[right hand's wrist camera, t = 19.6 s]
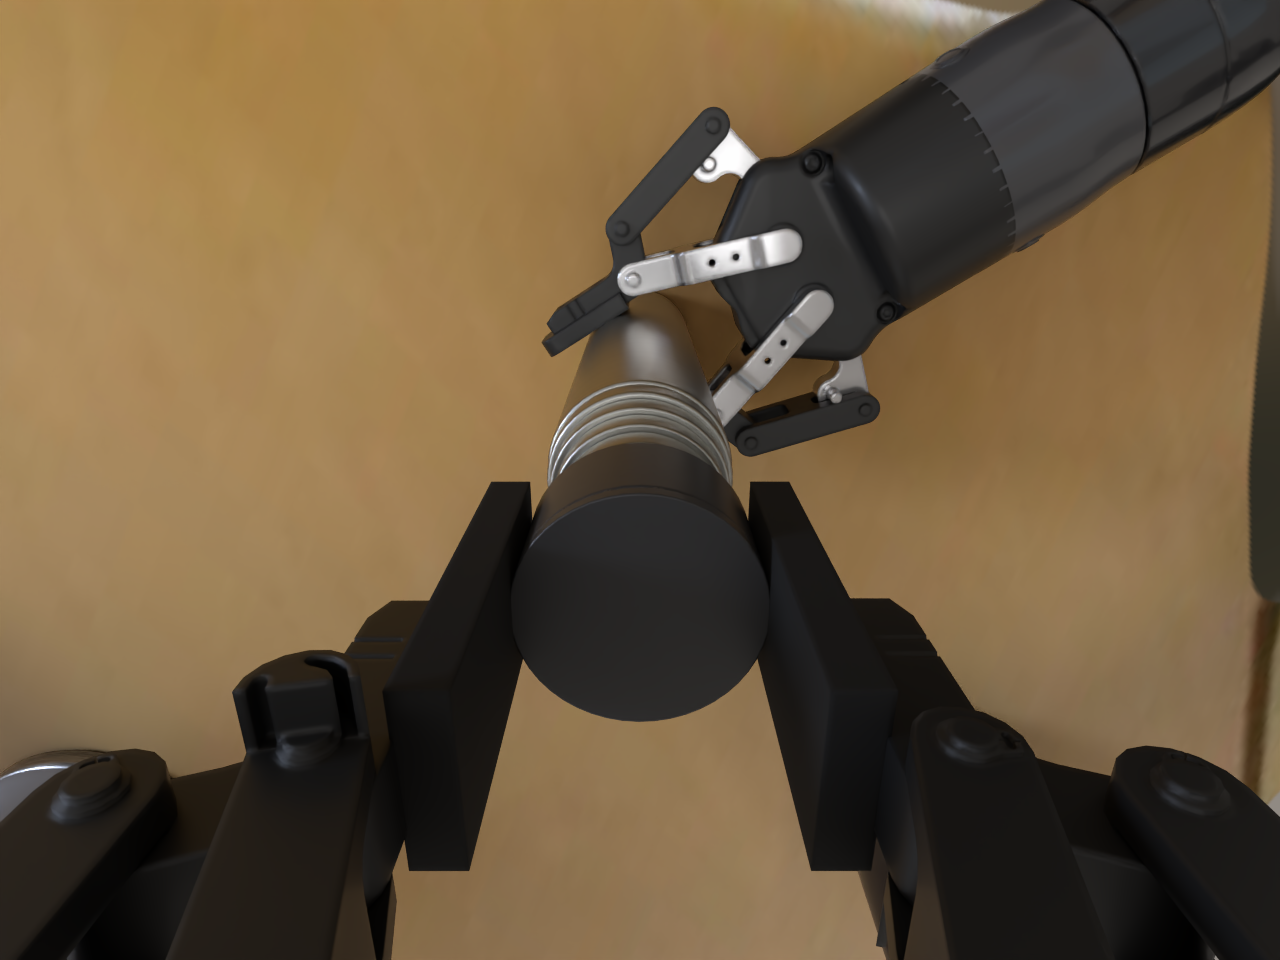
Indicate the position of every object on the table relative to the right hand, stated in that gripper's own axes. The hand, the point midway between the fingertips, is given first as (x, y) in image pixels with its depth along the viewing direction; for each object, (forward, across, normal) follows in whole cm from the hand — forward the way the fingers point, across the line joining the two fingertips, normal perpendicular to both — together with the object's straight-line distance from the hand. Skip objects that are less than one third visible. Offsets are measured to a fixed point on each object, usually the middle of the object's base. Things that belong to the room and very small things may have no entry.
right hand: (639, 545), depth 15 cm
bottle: (+23, 0, 0) cm, 23 cm away
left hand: (+17, -2, -1) cm, 17 cm away
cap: (0, 0, 0) cm, 0 cm away
